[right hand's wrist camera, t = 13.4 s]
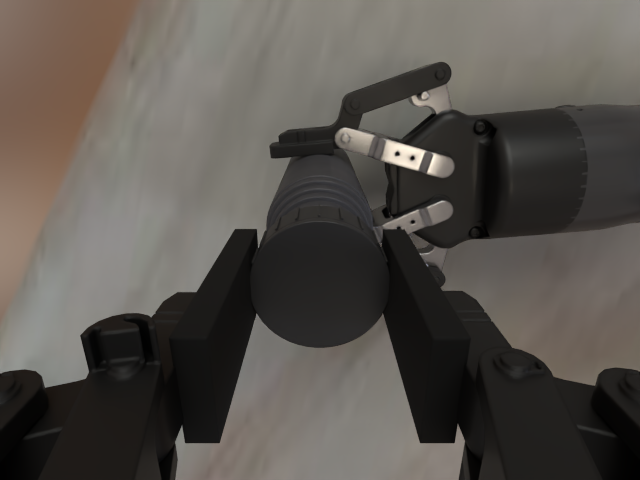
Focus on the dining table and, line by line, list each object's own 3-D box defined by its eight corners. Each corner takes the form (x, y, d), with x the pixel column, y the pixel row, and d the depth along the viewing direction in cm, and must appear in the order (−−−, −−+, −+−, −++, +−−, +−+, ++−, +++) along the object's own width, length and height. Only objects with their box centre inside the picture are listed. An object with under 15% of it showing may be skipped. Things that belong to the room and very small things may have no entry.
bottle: (362, 156, 30) (422, 248, 13) (334, 212, 32) (352, 363, 14) (304, 128, 30) (280, 183, 12) (278, 186, 31) (223, 312, 13)
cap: (289, 181, 13) (284, 194, 12) (407, 238, 14) (419, 258, 12) (236, 290, 15) (225, 316, 13) (346, 338, 15) (349, 368, 14)
